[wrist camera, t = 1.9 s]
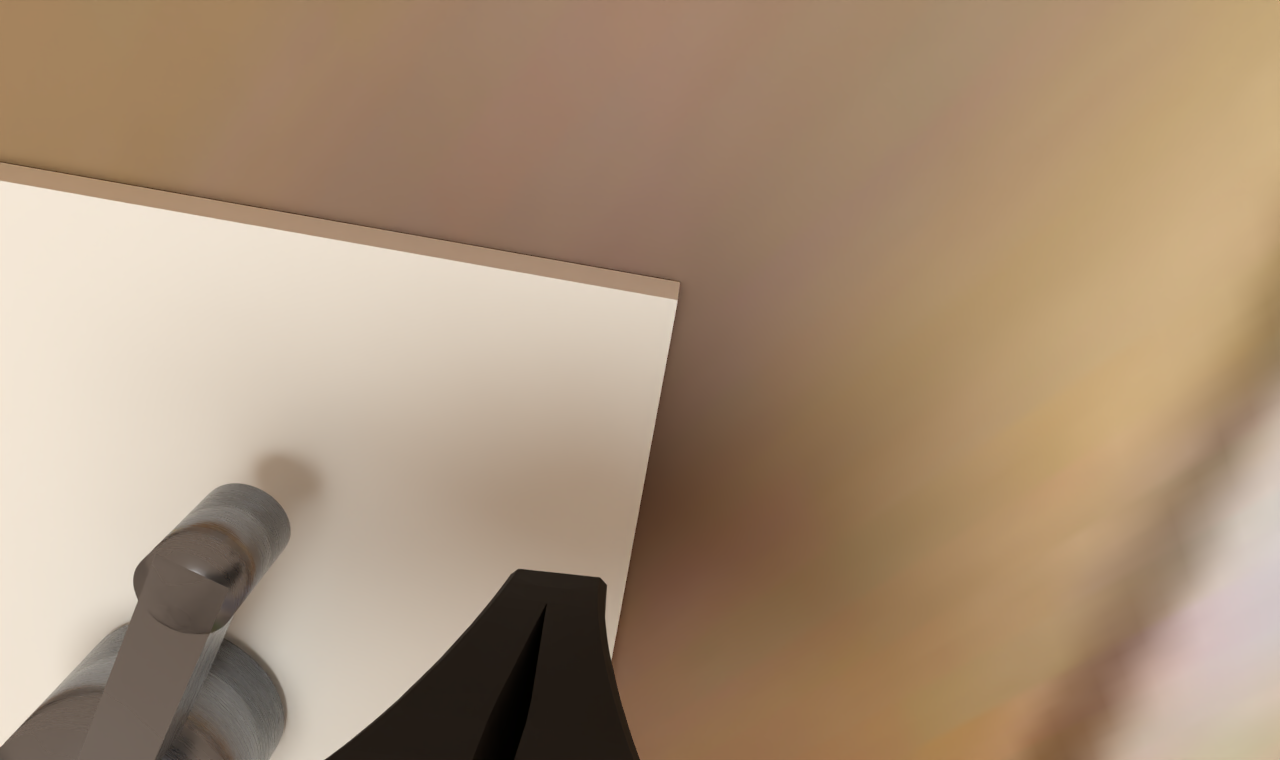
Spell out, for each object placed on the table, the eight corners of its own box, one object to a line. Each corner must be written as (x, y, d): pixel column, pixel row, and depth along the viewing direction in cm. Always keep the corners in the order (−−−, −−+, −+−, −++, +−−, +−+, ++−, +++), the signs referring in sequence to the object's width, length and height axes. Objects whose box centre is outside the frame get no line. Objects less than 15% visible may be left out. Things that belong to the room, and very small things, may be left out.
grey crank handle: (248, 802, 21) (164, 946, 18) (66, 722, 20) (-53, 856, 17) (402, 503, 17) (331, 620, 14) (185, 395, 16) (59, 491, 13)
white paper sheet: (561, 928, 23) (549, 999, 22) (-33, 818, 24) (-90, 880, 22) (679, 282, 16) (675, 316, 14) (-191, 128, 16) (-295, 144, 14)
